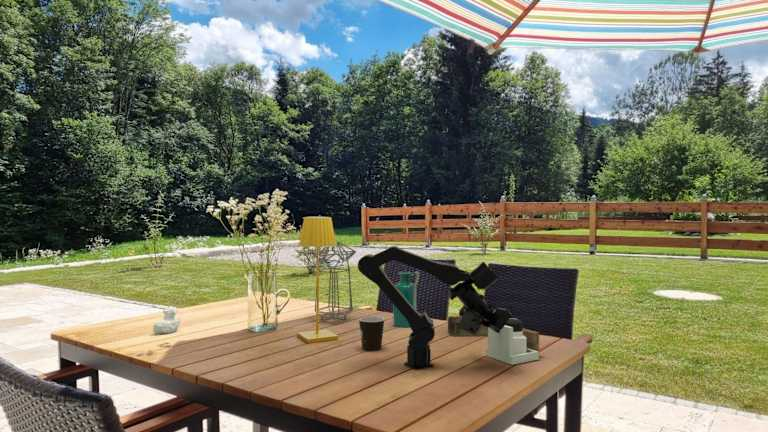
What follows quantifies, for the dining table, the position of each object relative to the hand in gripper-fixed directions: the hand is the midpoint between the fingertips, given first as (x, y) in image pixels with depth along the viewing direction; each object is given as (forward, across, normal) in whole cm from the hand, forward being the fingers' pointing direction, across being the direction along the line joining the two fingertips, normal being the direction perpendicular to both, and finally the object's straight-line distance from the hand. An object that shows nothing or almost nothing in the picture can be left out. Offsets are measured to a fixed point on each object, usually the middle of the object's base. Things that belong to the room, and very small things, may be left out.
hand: (498, 331), depth 155 cm
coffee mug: (-12, -33, -26) cm, 44 cm away
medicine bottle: (+11, 0, -2) cm, 11 cm away
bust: (-54, -90, -69) cm, 125 cm away
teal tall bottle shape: (+7, -56, -6) cm, 57 cm away
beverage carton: (+18, -31, +5) cm, 36 cm away
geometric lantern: (-9, -78, -23) cm, 81 cm away
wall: (+15, -1, +3) cm, 16 cm away
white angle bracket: (+11, 0, -2) cm, 11 cm away
